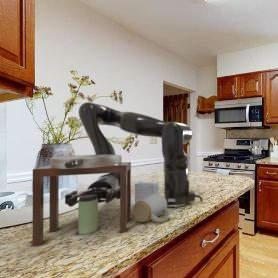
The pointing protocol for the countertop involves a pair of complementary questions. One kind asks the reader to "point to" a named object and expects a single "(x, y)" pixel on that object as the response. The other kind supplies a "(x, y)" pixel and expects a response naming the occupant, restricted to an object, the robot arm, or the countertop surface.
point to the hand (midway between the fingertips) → (89, 201)
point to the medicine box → (145, 190)
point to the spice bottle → (88, 214)
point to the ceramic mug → (151, 208)
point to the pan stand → (77, 167)
